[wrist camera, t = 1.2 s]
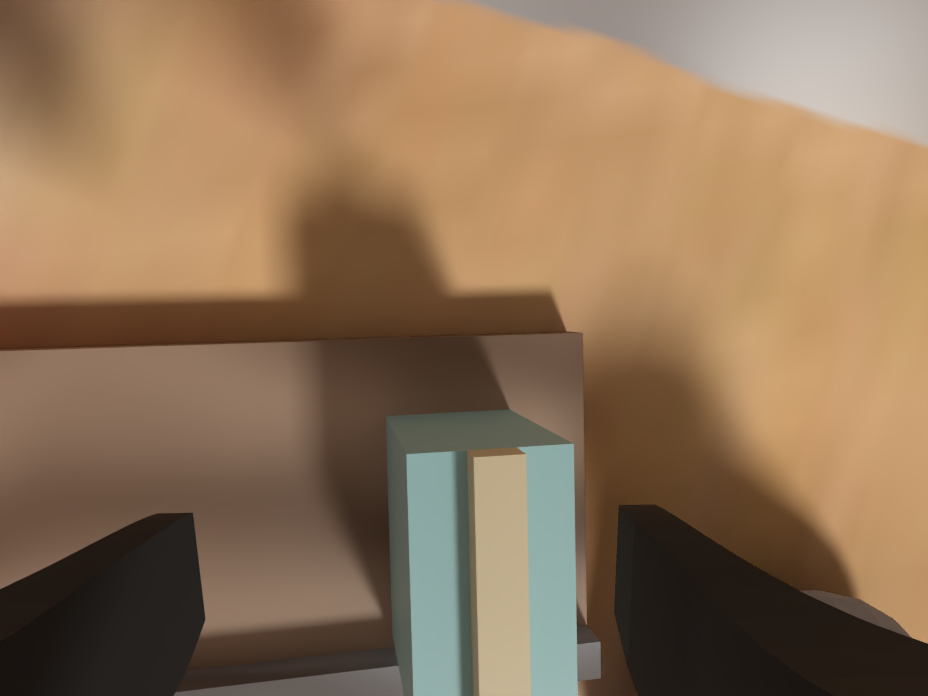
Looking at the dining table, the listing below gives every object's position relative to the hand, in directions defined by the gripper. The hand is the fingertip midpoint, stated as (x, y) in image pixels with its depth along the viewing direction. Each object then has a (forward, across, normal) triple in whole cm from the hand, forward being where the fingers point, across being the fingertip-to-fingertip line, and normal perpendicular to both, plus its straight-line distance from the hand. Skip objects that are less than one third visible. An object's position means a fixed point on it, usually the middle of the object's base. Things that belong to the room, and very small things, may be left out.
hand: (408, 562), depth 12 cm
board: (+10, +7, +4) cm, 13 cm away
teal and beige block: (+10, -1, +4) cm, 11 cm away
